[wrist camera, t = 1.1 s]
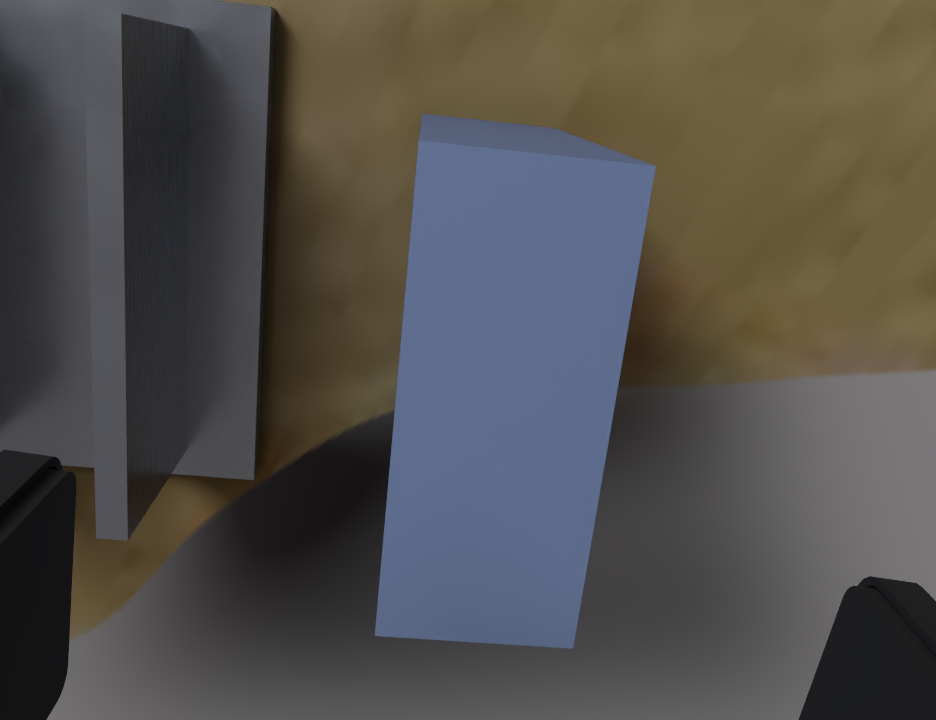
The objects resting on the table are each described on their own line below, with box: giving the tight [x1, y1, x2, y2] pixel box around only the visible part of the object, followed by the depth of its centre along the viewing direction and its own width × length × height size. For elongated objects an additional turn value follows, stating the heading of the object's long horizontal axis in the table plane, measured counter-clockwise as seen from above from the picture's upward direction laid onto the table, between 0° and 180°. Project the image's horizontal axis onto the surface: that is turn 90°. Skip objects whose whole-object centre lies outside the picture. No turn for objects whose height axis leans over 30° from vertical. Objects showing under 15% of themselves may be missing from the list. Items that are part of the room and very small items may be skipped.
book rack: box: [0, 0, 276, 541], centre depth 29 cm, size 14×18×8 cm
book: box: [375, 114, 656, 649], centre depth 27 cm, size 5×12×15 cm, turn 174°
